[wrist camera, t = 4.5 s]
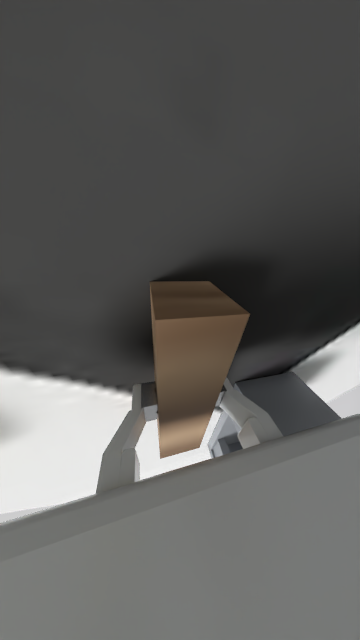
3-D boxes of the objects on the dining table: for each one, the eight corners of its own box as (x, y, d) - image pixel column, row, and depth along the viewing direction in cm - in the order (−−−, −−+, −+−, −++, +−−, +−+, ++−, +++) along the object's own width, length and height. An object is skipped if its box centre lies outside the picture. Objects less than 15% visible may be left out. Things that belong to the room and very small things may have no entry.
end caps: (235, 382, 16) (277, 452, 11) (292, 371, 17) (351, 428, 13) (207, 444, 26) (222, 495, 21) (245, 434, 28) (267, 478, 23)
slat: (149, 281, 8) (155, 320, 4) (208, 281, 9) (250, 313, 5) (156, 409, 15) (160, 458, 12) (187, 402, 16) (199, 447, 13)
